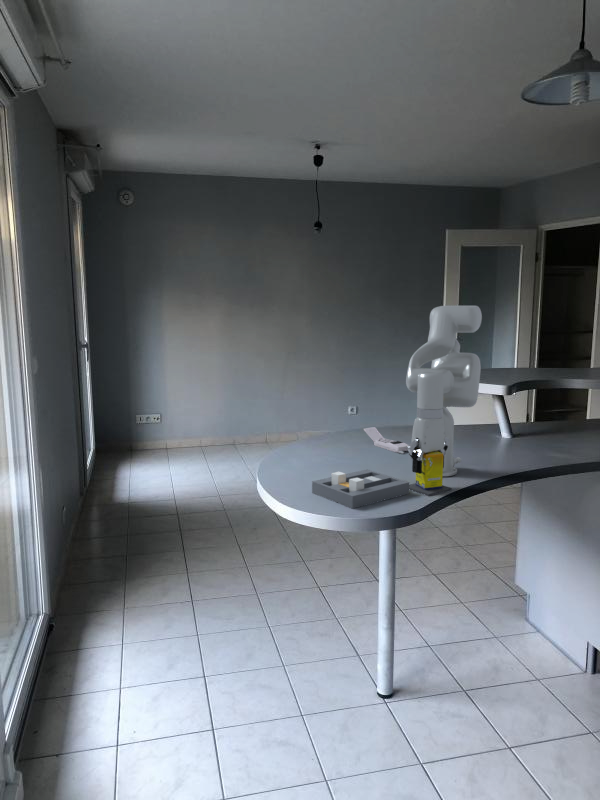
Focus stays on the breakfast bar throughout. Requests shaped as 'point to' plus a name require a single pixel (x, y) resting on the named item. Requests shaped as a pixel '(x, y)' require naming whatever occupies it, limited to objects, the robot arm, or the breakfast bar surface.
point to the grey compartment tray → (373, 491)
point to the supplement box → (431, 471)
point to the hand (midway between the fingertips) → (428, 470)
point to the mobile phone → (385, 441)
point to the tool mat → (428, 492)
